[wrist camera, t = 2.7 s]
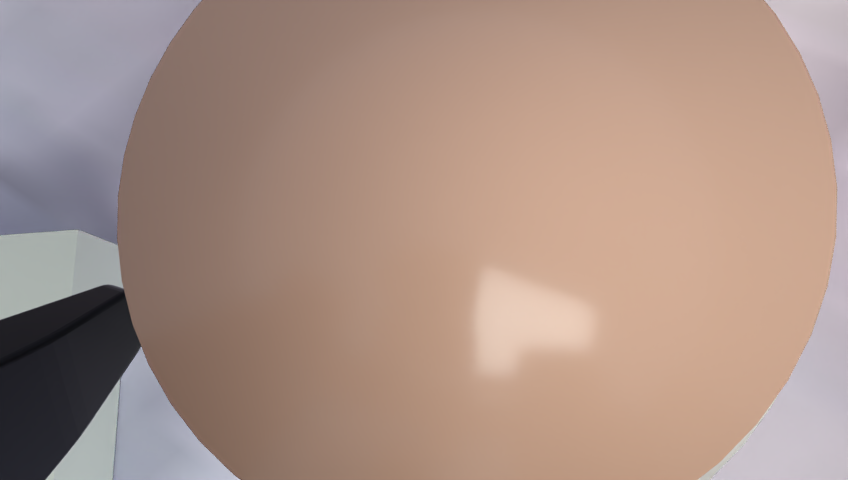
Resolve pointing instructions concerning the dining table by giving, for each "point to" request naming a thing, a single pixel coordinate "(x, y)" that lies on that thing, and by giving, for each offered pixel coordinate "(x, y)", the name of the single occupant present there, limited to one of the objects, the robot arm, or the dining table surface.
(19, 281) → the sage block
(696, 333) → the cream jar
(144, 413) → the dining table surface
